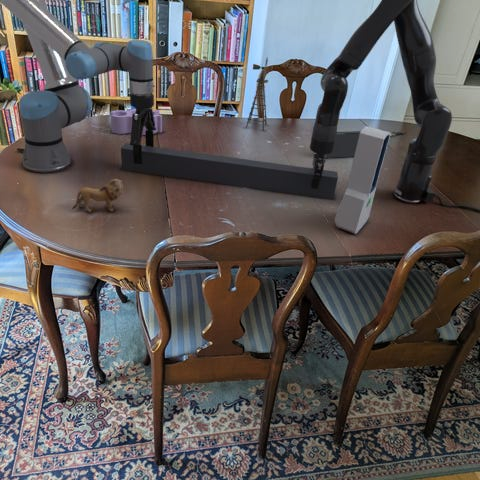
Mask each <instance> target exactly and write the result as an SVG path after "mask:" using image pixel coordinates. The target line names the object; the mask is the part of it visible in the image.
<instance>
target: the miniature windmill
mask: <svg viewBox="0 0 480 480" xmlns="http://www.w3.org/2000/svg"><path fill="white" fill-rule="evenodd" d="M268 59H269V58H268V57H266V59H265V65H264V66H260V65H259V64H256V63H253V64H252V70H255V71H256V70H259V71H260V70H262V71H261V75H260V77H259V78H257V80H256V81H255V82H256V83H258V85H257V86H256V90H255V95H254V97H253V102H252V104H251V107H250V111H249V113H248V114H249V115H248V117H247V119H246V120H247V122H246V125H245V128H248V126H249V123H251V121H254V122H259V123H262V131H265V125H266V126H267V123H268V122H267V118H268V116H267V108H266V107H267V105H266V91H265V90H266V89H265V88H266V86H265V84H267V83H269V79H266V76H267V70H268V67H269V66H268V61H269V60H268ZM260 89H261V91H262V94H258V93H259V90H260ZM257 99H258V100H262V103H261V104H259V103H256V101H257ZM255 106H261V107H262V108H260V107H255ZM254 110H260V111H261V110H262V115H259V114H253V113H254ZM252 116H255V117H260V118H262V120H258V119H252Z"/></svg>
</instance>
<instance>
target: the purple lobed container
mask: <svg viewBox="0 0 480 480" xmlns="http://www.w3.org/2000/svg"><path fill="white" fill-rule="evenodd" d="M152 110H153V115H154V121H155V127H156V131H155V130H153V133H154V134H157V133H163V115H162V114H160V110H159V109H152ZM135 112H136V108H132V109H129V110H122V109H118V110H112V111H110V112H109V113H110V127H111V128H110V129H111V133H113V134H118V135H124V134H131V130H132V114H135ZM146 130H147V129H146V127H145V126H144V127H143V133H142V136H145V131H146Z"/></svg>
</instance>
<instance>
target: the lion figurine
mask: <svg viewBox="0 0 480 480" xmlns="http://www.w3.org/2000/svg"><path fill="white" fill-rule="evenodd" d="M109 181H110V182H108V183H107V184H105V185H104V186H103V187H102V188H92V187H88V186H87V187H83V188H81V189H80V190H79V191H78V193H77V195H76V196H77V197H76V201H75V205H74V206H73V207H72V208H71V209H72V210H75V209H77V207H79V208H83V207H84V208H85V210H86V212H89V213H91V212H92V208H89V203H90V199H91V200H94V201H95V202H104V201H105V206H106V207H107V210H108V211H109V212H113V211H114V208H113V207H112V202H113V201H116V200H118V199H119V198H120V197H119V196H121V195H122V194H123V191H124V186H123V181H122V180H120V179H118V178H113V179H110V180H109ZM82 202H84V204H83V203H82Z"/></svg>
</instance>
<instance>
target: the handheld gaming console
mask: <svg viewBox="0 0 480 480" xmlns="http://www.w3.org/2000/svg"><path fill="white" fill-rule="evenodd" d="M361 131H362V130H361ZM361 131H360V130H356V131H355V130H354V131H353V130H352V131H337V134H336V138H335V143H334V148H333V152H332V153H330V154H326V157H325V158H326V159H331V158H332V159H333V158H354V156H355V152H356V148H357V143H358V139H359V135H360V132H361Z"/></svg>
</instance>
